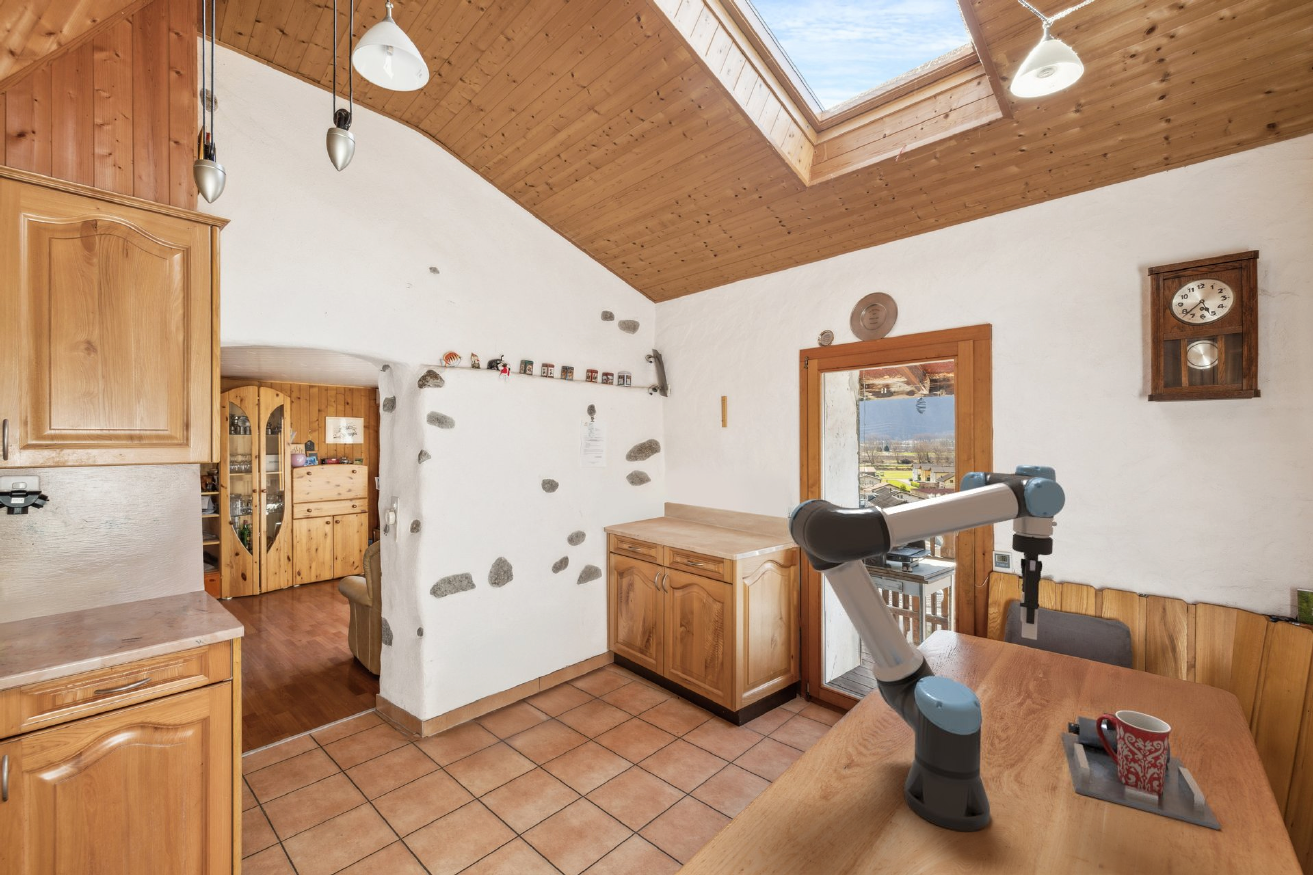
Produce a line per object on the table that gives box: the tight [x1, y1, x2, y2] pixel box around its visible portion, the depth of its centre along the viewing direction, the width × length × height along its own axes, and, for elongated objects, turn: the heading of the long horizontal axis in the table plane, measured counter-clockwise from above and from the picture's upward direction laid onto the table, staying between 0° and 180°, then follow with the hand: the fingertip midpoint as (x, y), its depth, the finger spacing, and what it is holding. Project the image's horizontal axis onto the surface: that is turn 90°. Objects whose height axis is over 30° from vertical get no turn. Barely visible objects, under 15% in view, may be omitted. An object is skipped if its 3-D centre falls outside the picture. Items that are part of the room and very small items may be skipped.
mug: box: [1096, 710, 1172, 794], centre depth 122 cm, size 13×9×14 cm
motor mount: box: [1060, 712, 1220, 831], centre depth 125 cm, size 26×22×8 cm
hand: (1028, 629), depth 128 cm, fingers open, 13 cm apart
